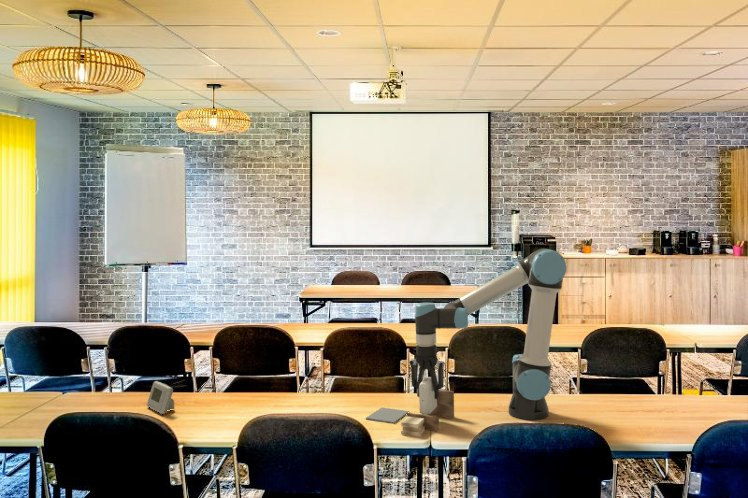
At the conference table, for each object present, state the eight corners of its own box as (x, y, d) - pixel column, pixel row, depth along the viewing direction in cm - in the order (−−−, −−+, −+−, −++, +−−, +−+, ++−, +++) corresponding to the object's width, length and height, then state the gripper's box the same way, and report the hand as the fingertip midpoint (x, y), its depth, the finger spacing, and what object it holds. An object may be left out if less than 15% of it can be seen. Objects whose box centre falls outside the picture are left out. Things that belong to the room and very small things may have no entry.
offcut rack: (454, 416, 235) (453, 391, 235) (438, 431, 220) (437, 403, 219) (425, 413, 241) (424, 387, 240) (407, 426, 225) (407, 400, 225)
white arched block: (429, 415, 224) (428, 382, 223) (418, 414, 225) (417, 381, 225) (438, 407, 233) (437, 375, 232) (427, 406, 235) (426, 374, 234)
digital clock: (146, 407, 256) (145, 381, 256) (168, 403, 261) (167, 378, 260) (153, 417, 242) (152, 391, 242) (177, 413, 247) (176, 387, 246)
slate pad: (409, 412, 242) (409, 411, 241) (394, 423, 229) (394, 421, 229) (381, 408, 247) (381, 407, 247) (365, 419, 234) (365, 417, 234)
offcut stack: (425, 430, 222) (425, 417, 222) (420, 437, 215) (420, 424, 215) (405, 428, 224) (405, 416, 224) (400, 435, 217) (400, 422, 217)
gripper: (451, 343, 227) (453, 405, 228) (408, 341, 235) (410, 401, 236) (444, 348, 221) (446, 411, 222) (400, 345, 229) (403, 406, 230)
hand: (428, 406), depth 229 cm, fingers closed on white arched block, 4 cm apart
